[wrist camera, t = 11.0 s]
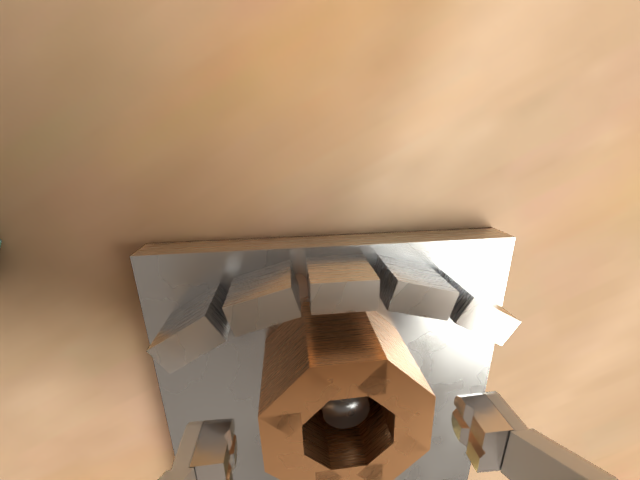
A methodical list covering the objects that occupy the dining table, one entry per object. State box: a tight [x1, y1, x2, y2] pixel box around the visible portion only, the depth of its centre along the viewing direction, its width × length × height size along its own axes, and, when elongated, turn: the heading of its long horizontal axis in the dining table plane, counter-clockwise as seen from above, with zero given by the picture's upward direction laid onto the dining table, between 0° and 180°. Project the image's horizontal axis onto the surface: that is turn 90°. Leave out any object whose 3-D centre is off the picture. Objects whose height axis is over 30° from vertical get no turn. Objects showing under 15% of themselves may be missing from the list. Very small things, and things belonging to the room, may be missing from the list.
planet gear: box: [258, 302, 436, 480], centre depth 12 cm, size 6×6×4 cm
